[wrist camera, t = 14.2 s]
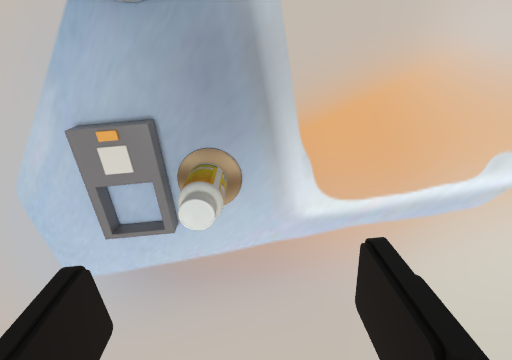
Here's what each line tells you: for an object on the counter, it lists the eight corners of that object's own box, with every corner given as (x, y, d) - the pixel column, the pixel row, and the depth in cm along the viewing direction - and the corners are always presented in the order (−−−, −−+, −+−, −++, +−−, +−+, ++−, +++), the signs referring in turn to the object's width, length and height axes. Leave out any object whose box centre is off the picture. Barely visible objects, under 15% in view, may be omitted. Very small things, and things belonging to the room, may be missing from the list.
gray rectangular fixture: (76, 126, 35) (62, 131, 32) (153, 119, 35) (146, 124, 32) (113, 229, 41) (104, 241, 38) (178, 223, 41) (173, 234, 39)
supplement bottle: (234, 179, 38) (232, 215, 29) (209, 202, 39) (199, 244, 31) (206, 153, 36) (194, 184, 27) (180, 179, 38) (161, 216, 29)
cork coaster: (172, 151, 37) (171, 152, 36) (238, 145, 37) (238, 146, 36) (184, 208, 40) (184, 210, 40) (244, 202, 40) (244, 204, 40)
